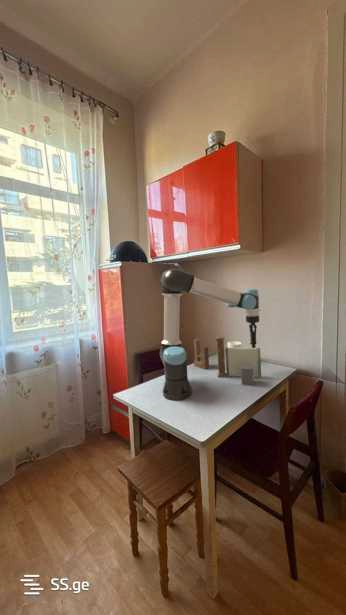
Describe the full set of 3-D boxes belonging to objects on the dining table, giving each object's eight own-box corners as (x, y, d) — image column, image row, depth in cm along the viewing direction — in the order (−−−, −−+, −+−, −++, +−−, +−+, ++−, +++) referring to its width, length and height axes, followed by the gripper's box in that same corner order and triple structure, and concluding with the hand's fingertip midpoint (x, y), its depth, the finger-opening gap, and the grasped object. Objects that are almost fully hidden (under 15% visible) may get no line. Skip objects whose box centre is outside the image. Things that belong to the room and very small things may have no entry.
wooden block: (205, 369, 160) (204, 342, 159) (194, 365, 169) (192, 340, 167) (209, 368, 163) (208, 341, 161) (198, 364, 171) (196, 338, 169)
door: (226, 375, 146) (225, 348, 145) (226, 374, 148) (225, 348, 146) (261, 375, 142) (260, 348, 140) (260, 374, 143) (259, 348, 142)
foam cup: (237, 364, 166) (236, 345, 164) (225, 361, 173) (224, 343, 171) (244, 360, 172) (244, 342, 170) (233, 358, 179) (232, 340, 177)
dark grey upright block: (241, 384, 134) (241, 368, 133) (241, 380, 140) (240, 364, 139) (253, 385, 133) (252, 368, 132) (252, 380, 139) (251, 364, 138)
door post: (217, 377, 146) (215, 338, 144) (218, 374, 151) (216, 336, 149) (226, 377, 145) (224, 338, 143) (226, 374, 150) (224, 336, 147)
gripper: (260, 316, 139) (261, 357, 142) (257, 313, 152) (259, 351, 154) (246, 317, 141) (247, 357, 143) (245, 314, 154) (246, 351, 156)
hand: (253, 354), depth 149 cm, fingers closed
